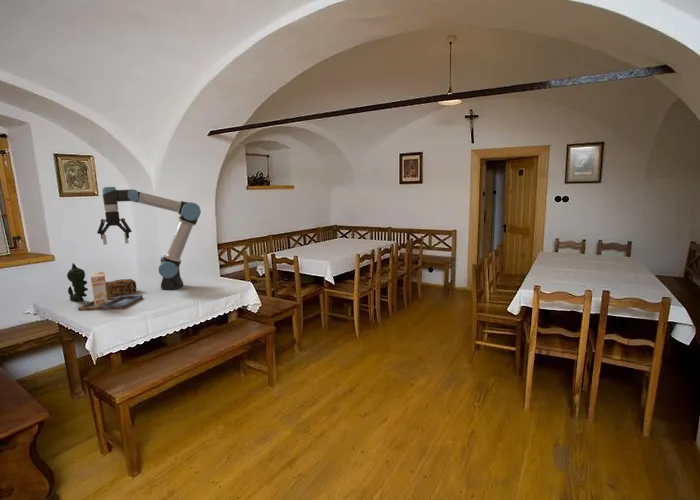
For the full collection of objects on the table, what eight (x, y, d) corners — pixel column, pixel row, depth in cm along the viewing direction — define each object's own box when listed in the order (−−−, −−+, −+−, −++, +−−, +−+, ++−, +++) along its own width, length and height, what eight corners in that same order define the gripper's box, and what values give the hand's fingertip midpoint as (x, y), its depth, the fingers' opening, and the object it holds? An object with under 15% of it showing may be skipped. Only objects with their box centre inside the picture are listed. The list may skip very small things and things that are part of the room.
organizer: (143, 298, 250) (142, 295, 250) (124, 308, 228) (124, 305, 228) (100, 299, 249) (100, 296, 249) (78, 310, 227) (77, 307, 227)
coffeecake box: (108, 306, 234) (104, 275, 231) (94, 308, 230) (90, 277, 227) (108, 300, 246) (104, 271, 243) (95, 302, 243) (91, 273, 240)
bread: (106, 298, 252) (105, 283, 251) (102, 295, 260) (100, 281, 258) (137, 292, 265) (136, 278, 264) (132, 290, 273) (131, 276, 271)
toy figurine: (76, 304, 240) (71, 265, 236) (62, 300, 249) (56, 263, 245) (92, 300, 248) (87, 262, 244) (78, 296, 257) (73, 260, 253)
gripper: (134, 210, 250) (138, 242, 253) (94, 211, 248) (99, 243, 251) (129, 210, 242) (133, 243, 246) (88, 212, 240) (92, 245, 244)
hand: (116, 243), depth 248 cm, fingers open, 13 cm apart
